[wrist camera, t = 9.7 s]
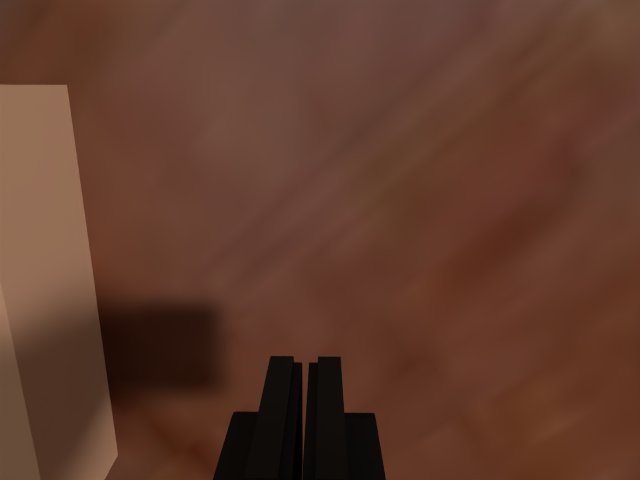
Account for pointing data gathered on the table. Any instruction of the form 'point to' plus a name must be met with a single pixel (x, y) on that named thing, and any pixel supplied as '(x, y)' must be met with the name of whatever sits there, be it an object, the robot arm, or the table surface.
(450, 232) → the table surface
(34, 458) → the t block
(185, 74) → the table surface
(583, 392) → the table surface
